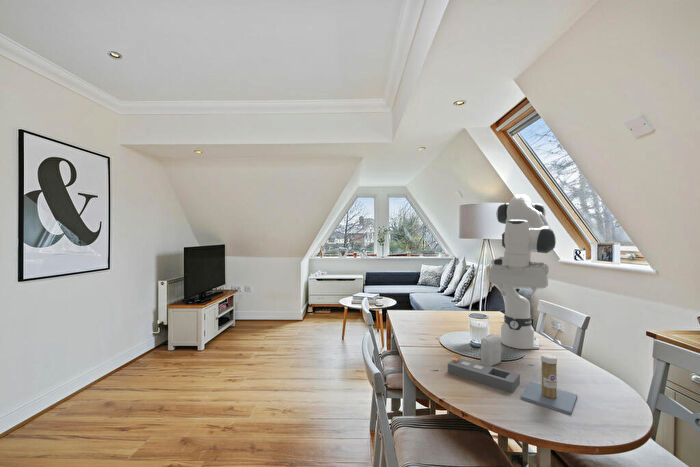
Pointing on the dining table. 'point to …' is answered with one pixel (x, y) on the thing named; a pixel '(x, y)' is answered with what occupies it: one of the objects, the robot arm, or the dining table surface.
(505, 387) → the power strip
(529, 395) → the rubber mat
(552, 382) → the sprinkles bottle
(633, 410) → the dining table surface
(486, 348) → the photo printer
